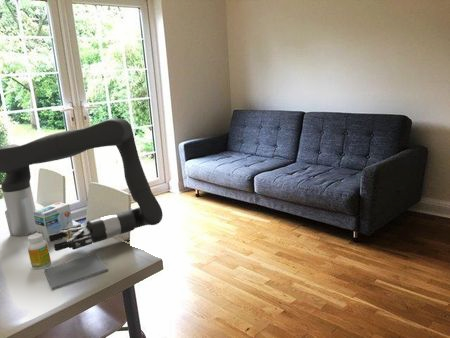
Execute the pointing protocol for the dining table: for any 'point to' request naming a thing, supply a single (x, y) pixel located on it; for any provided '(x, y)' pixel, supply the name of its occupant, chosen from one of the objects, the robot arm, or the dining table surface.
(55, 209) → the light bulb box
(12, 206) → the robot arm
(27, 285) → the dining table surface
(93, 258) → the placemat
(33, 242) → the supplement bottle
